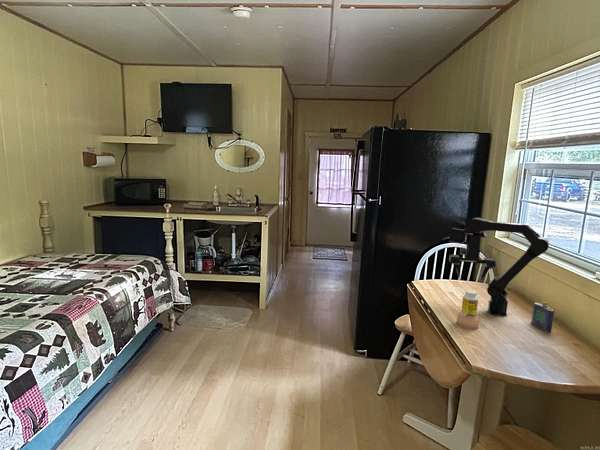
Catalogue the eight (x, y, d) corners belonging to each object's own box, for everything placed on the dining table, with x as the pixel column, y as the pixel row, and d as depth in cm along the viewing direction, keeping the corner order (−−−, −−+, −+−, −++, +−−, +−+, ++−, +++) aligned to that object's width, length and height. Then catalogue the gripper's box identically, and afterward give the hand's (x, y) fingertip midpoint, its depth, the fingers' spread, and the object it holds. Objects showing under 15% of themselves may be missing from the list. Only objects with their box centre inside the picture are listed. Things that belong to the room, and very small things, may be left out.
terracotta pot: (476, 322, 149) (477, 313, 148) (479, 331, 141) (481, 321, 140) (455, 319, 151) (456, 310, 150) (457, 327, 143) (458, 318, 143)
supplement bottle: (466, 318, 142) (469, 294, 140) (458, 313, 147) (460, 289, 146) (479, 318, 143) (482, 293, 141) (470, 312, 148) (473, 289, 147)
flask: (529, 322, 151) (533, 298, 149) (535, 322, 151) (539, 298, 149) (547, 332, 142) (551, 306, 140) (553, 332, 142) (558, 306, 140)
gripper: (492, 244, 167) (488, 276, 170) (449, 240, 172) (446, 271, 175) (498, 249, 156) (493, 283, 159) (452, 245, 162) (448, 278, 164)
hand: (469, 278), depth 165 cm, fingers open, 9 cm apart
